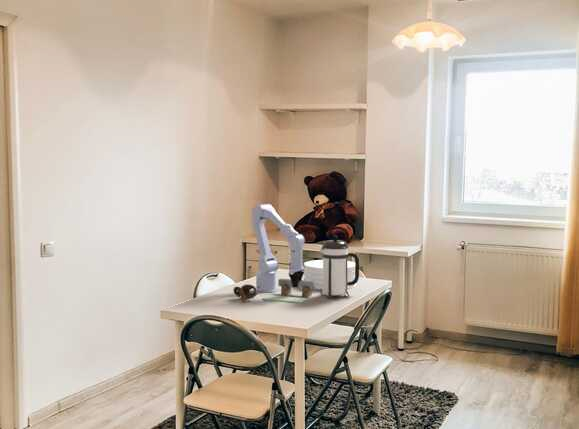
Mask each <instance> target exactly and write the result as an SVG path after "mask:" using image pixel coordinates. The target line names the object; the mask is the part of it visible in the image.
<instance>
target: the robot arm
mask: <svg viewBox="0 0 579 429" xmlns="http://www.w3.org/2000/svg"><path fill="white" fill-rule="evenodd" d="M251 215H252V222H251V223H252V226H253V231H254V234H255V239H256V243H257V248H258V250H259V254H260V256H259V258H258V259H257V262H258V271H259V272H257V274H256V278H255V281H256V282H255V285H256V286H255V288H256V292H264V293H265V292H267V293H274V292H276V291H278V290H279V288H278V287H277V286H276V282H277V280H276V273H277V271H278V270H279V263H278V261H277V259H276V256H275V255H274V254H273V253H272V251H271V247H270V243H269V240H268V236H267V231H266V226H265V223H266V222H267V220H268V219H270V221H272V222H273V223H274V224H275V225H276V226H277V227H278V228H279V229H280V234H282V235H283V237H284V238H286V239H287V242H288V244H289V249H290V268H289V270H288V276H289V279H291V282H292V286H293V287H292V288H295V287H296V289H298V288H297V286H298V280H303V276H304V272H305V271H304V270H305V267H304V265H303V246H304V245H305V242H306V240H305V236H304V235H303V234H301V233H299V232H298V231H296V230H295V229H294V228H293V227H292V226H293V225H291V224H289V223H286V222H285V221H284V220H283V219H282V217H280V216H279V215H280V214H278V213H277V212H276V209H275V207H273V206H272V205H271V203H264V204H256V205H255V206H253V208H252V209H251Z"/></svg>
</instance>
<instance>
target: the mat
mask: <svg viewBox="0 0 579 429" xmlns="http://www.w3.org/2000/svg"><path fill="white" fill-rule="evenodd" d="M308 299H309V298H308V297H295V296H293V297H292V296H286V295H274V294H273V295H272V294H269V295H266V296H265V297H263V298H262V300H263V301H275V302H285V303H292V304H294V303H296V304H303V303H304V302H306V301H309V300H308Z"/></svg>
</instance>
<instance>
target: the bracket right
mask: <svg viewBox="0 0 579 429" xmlns="http://www.w3.org/2000/svg"><path fill="white" fill-rule="evenodd" d="M312 293H313V289H308V287H305V286H302V288H301V298H309V297H311V296H312V295H313V294H312Z"/></svg>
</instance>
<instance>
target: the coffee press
mask: <svg viewBox="0 0 579 429" xmlns="http://www.w3.org/2000/svg"><path fill="white" fill-rule="evenodd" d="M338 237H339V236H338V235H336V234H334V235H333V236H332V239H329V240H326V241H324V242H323V243H322V245H321V246H322V247H321V248H320V251H319V253H322V260H323V290H321V291H320V293H319V294H320V295H321V296H324V295H327V299H328V300H331V299H332V297H333V296H344V297H345V298H347V299H348V298H350V295H349V292H348V289H347V287H348V286H349V285H354V284H356V283H358V281H359V279H360V278H359V277H360V260H359V256H358V255H357V254H356V253H355V252H354V253H353V252H348V250H349V245H348V243H347V242H346V241H345V240H342V239H338ZM349 257H352V258H354V261H355V262H354V263H355V279H354V280H353V281H352V282H347V261H349V260H348V258H349Z"/></svg>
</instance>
